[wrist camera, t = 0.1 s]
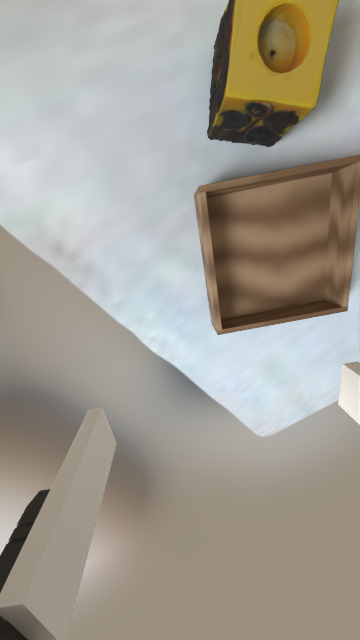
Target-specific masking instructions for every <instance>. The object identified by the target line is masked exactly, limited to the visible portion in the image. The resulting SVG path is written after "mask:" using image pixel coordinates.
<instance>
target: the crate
mask: <svg viewBox="0 0 360 640" xmlns="http://www.w3.org/2000/svg"><path fill="white" fill-rule="evenodd" d="M359 196H360V155H356V156H351V157H346V158H341V159H335V160H330V161H325V162H320V163H315V164H310V165H305V166H300V167H294V168H289V169H284V170H279V171H274V172H269V173H264V174H259V175H254V176H248V177H243V178H238V179H233V180H228V181H223V182H218V183H213V184H207V185H202V186H199V187H198V189H197V191H196V192H195V194H194V199H195V206H196V213H197V221H198V228H199V235H200V243H201V250H202V257H203V265H204V272H205V279H206V287H207V294H208V301H209V309H210V316H211V323H212V325H213V327H214V329H215V331H216V333H217V334H218V335H220V334H226V333H231V332H236V331H242V330H247V329H253V328H258V327H263V326H269V325H274V324H280V323H285V322H291V321H296V320H301V319H307V318H312V317H318V316H323V315H329V314H334V313H339V312H345V311H347V310H348V301H349V291H350V282H351V272H352V263H353V253H354V244H355V234H356V225H357V215H358V206H359Z"/></svg>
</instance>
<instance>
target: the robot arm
mask: <svg viewBox="0 0 360 640" xmlns="http://www.w3.org/2000/svg"><path fill="white" fill-rule="evenodd" d="M338 405H340V406H341V407H342V408H343V409H344V410H345V411H346V412H347V413H348V414H349V415H350V416H351V417H352V418H353V419H354V420H355V421H356V422H358V424H359V425H360V363H359V362H351V363H346V364H343V367H342V376H341V386H340V395H339V404H338ZM115 448H116V441H115V438H114V436H113V433H112V431H111V428H110V426H109V423H108V421H107V418H106V416H105V413H104V410H103V408H102V407H101V408H97V409H90V410H88V412H87V414H86V416H85V418H84V420H83V422H82V425H81V427H80V429H79V431H78V433H77V435H76V437H75V439H74V441H73V443H72V445H71V447H70V449H69V451H68V454H67V456H66V458H65V460H64V462H63V464H62V466H61V468H60V470H59V472H58V474H57V477H56V479H55V481H54V483H53V485H52V487H51V489H48V490H42V491H39V492H38V494H37V495H36V496H35V497H34V499H33V500H32V501H31V502H30V503H29V505H28V506H27V507H26V509H25V511H24V513H23V515H22V517H21V518H20V520H19V522H18V524H17V528H15V530H14V531H13V533H12V535H11V537H10V539H9V543H8V544H6V546H5V548H4V550H3V552H2V554H1V555H0V640H66V636H67V632H68V628H69V624H70V621H71V617H72V613H73V609H74V605H75V602H76V598H77V594H78V590H79V586H80V582H81V579H82V574H83V571H84V567H85V563H86V559H87V555H88V552H89V548H90V544H91V540H92V536H93V532H94V529H95V524H96V520H97V517H98V513H99V509H100V506H101V501H102V498H103V494H104V490H105V486H106V482H107V479H108V475H109V471H110V467H111V463H112V459H113V456H114V451H115Z"/></svg>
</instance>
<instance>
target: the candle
mask: <svg viewBox="0 0 360 640" xmlns="http://www.w3.org/2000/svg"><path fill="white" fill-rule="evenodd" d="M338 2H339V0H229V3H228V5H227V7H226V9H225V11H224V14H223V16H222V18H221V21H220V26H219V31H218V34H217V38H216V41H215V45H214V50H215V52H214V58H213V68H212V80H211V89H210V94H211V98H210V100H209V101H210V106H209V110H210V114H209V127H208V130H207V133H208V138H209V139H211V140H213V139H216V140H220V141H223V140H225V141H231V142H232V143H249V144H252V145H256V144H258V145H265V146H267V147H270V146H273V145H274V144H275V142H276V141H278V140H280V139H281V137H282V135H283V134H284V133H285V132H286V131H287V130H289V129H290V128H291V127H292V125H295V124H297V123H298V122H299V121H301V120H302V119H303V118H304V117H305V116H306V115H307V114H308V113H310V112H311V110H312V109H313V108H314V107H315V106H316V103H317V99H318V95H319V90H320V84H321V79H322V72H323V66H324V61H325V56H326V52H327V47H328V43H329V39H330V35H331V30H332V26H333V21H334V17H335V13H336V9H337V6H338Z"/></svg>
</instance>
